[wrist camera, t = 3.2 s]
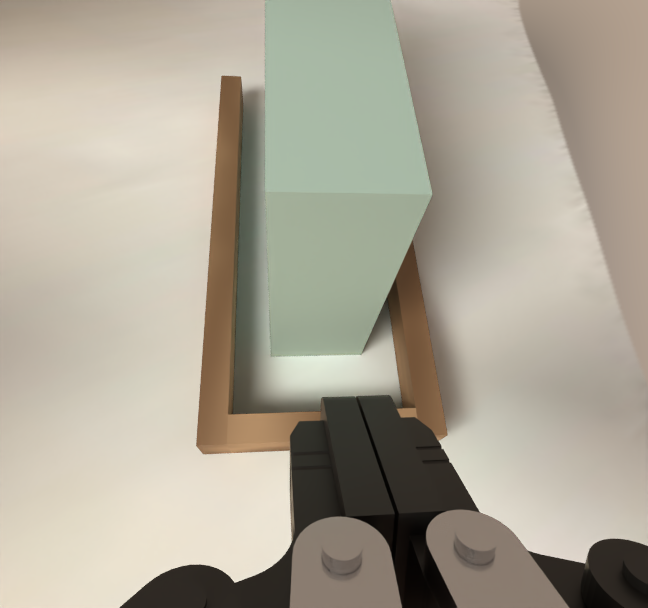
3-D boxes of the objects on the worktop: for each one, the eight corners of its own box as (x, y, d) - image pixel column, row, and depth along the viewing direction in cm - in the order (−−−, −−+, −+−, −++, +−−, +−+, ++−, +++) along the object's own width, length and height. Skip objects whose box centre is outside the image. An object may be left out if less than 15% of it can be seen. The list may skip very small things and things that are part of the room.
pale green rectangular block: (270, 357, 22) (264, 191, 12) (269, 106, 31) (265, -124, 20) (360, 354, 23) (432, 194, 12) (335, 108, 31) (365, -115, 21)
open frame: (203, 454, 20) (196, 445, 18) (224, 103, 30) (221, 75, 28) (433, 443, 21) (447, 434, 19) (378, 108, 31) (384, 82, 30)
